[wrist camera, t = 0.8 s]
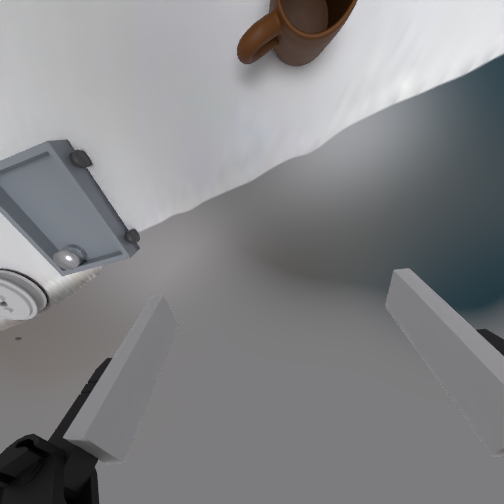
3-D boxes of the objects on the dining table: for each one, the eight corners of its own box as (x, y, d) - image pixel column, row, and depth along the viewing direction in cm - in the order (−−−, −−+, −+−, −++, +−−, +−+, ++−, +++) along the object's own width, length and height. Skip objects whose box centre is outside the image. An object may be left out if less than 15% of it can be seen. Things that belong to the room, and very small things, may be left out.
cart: (-16, 174, 34) (-43, 178, 31) (75, 136, 31) (56, 137, 28) (70, 267, 44) (56, 277, 41) (146, 246, 41) (137, 255, 38)
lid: (44, 315, 53) (25, 332, 48) (-13, 292, 49) (-40, 307, 45) (55, 286, 47) (35, 302, 43) (-9, 257, 44) (-38, 271, 39)
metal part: (61, 247, 40) (47, 255, 38) (77, 242, 39) (65, 250, 37) (75, 263, 42) (63, 272, 39) (91, 258, 41) (80, 267, 39)
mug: (257, 103, 29) (257, 94, 21) (225, 40, 25) (210, -2, 17) (341, 39, 25) (380, -3, 17) (316, -44, 22) (351, -146, 14)
